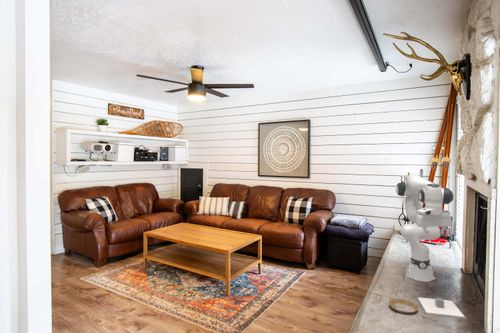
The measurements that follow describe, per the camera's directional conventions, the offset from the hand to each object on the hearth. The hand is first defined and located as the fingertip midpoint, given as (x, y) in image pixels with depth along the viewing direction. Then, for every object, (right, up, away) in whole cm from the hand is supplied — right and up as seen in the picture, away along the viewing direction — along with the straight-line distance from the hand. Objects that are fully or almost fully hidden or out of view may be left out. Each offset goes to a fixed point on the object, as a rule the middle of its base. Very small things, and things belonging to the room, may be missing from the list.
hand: (434, 233), depth 174 cm
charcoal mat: (-2, -41, -8) cm, 42 cm away
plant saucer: (-23, -42, -8) cm, 49 cm away
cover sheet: (-2, -40, -8) cm, 41 cm away
